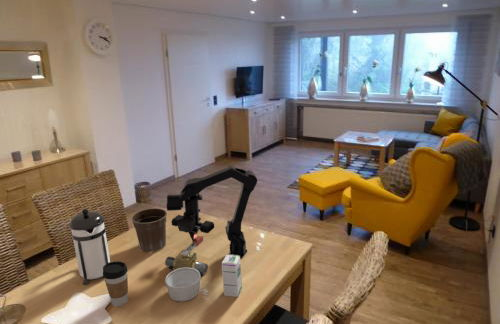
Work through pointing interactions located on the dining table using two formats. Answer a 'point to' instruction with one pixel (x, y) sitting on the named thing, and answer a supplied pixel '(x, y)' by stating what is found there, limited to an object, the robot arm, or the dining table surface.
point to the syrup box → (231, 275)
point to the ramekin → (183, 284)
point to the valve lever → (192, 246)
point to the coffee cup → (116, 282)
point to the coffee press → (90, 244)
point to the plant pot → (150, 228)
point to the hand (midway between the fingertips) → (193, 240)
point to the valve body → (186, 263)
